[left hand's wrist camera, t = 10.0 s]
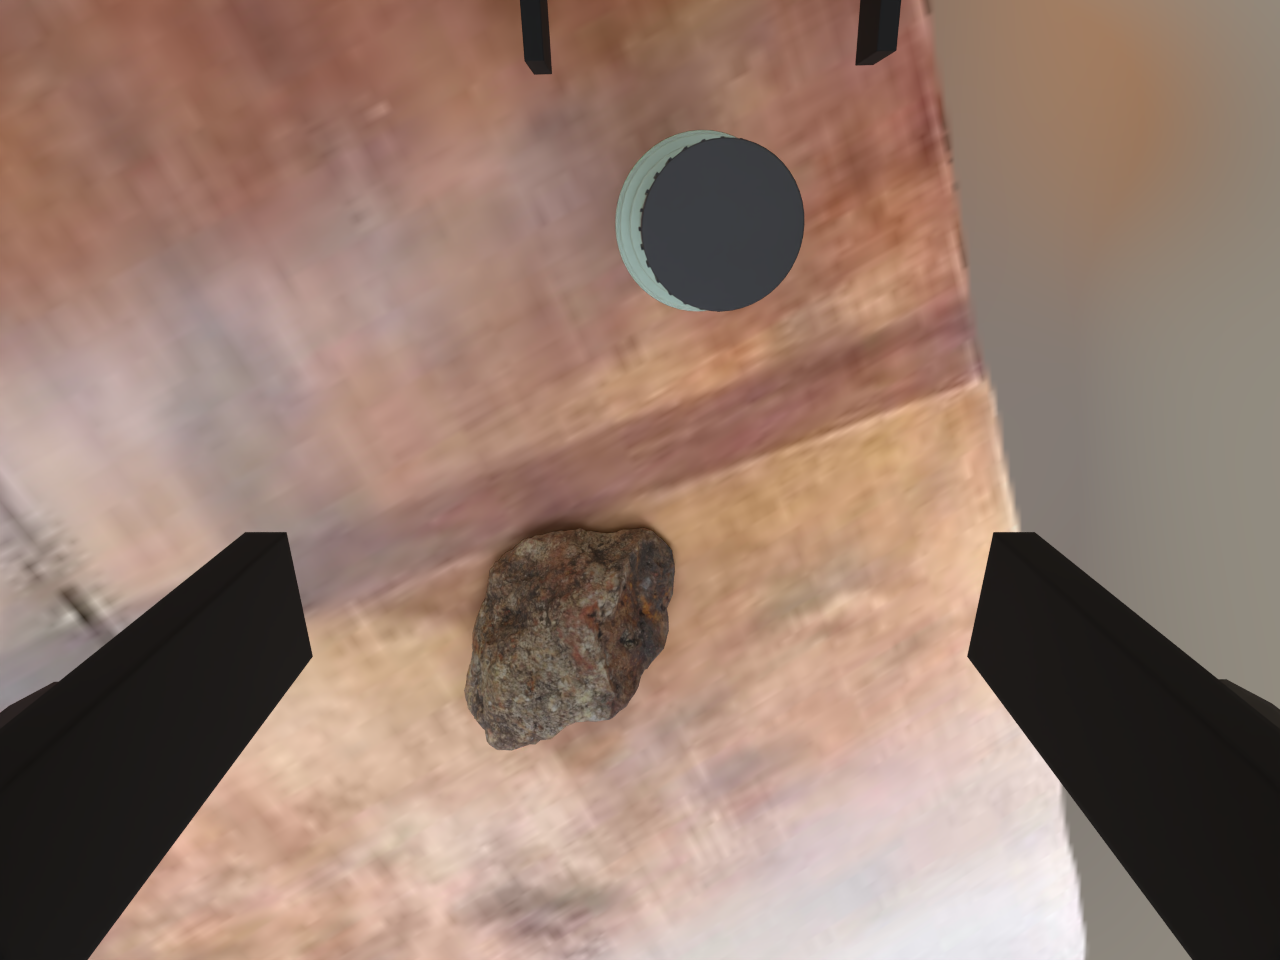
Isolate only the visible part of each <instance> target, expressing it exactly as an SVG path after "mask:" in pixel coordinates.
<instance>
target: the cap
mask: <svg viewBox="0 0 1280 960" xmlns="http://www.w3.org/2000/svg"><path fill="white" fill-rule="evenodd" d="M653 179H655V180H654V182H653V184H652V185H651V187H650V189H649V190H648V189H647V190H646V192H645V195H647V196H646V198H645V201H644V205H643V208H641V209H640V212H642V214H641V227H638V230H639V231H641V240H642V244H640V246H641V250H644V252H645V255H646V258H647V260H646V264H647V267H648V268H649V267H650V268H651V270H652V272H653V273H654V276H655V279H656V281H657V283H659V282H660V283H661V284H662V286H663V287H664V288H665V289H666V290H667V291H668V294H669V295H670V296H671V295H673V296H674V297H676V298H677V299H679V300H680V301H682V302H683V304H685V305H686V304H688V305H690V306H692V307H696V308H699V309H700V310H708V311H717V312H720V311H731V310H736V309H740V308H743V307H746V306H749V305H751V304H753V303H755V302H757V301H759V300H761V299H762V298H764V297H765V296H767V295H768V294H769V293H771V292H772V291H773V290H774V289H775V288H776V287H777V286H778V285H779V284H780V283H781V282H782V281H783V279H784V278H785V277H786V276H787V274H788V273H789V271H790V270H791V268H792V266H793V264H794V262H795V260H796V258H797V256H798V253H799V250H800V247H801V243H802V239H803V232H804V209H803V202H802V198H801V194H800V191H799V189H798V186H797V184H796V181H795V179H794V178H793V176H792V174H791V173H790V171H789V170H788V168H787V167H786V166H785V165H784V163H783V162H782V161H781V160H780V159H779V158H778V157H777V156H776V155H774V154H773V153H772V152H770V151H769V150H767V149H766V148H764V147H762V146H761V145H759V144H757V143H754V142H751V141H748V140H745V139H742V138H740V139H739V138H730V137H724V136H721V137H720V138H713V139H709V140H706V139H702V140H701V141H700V142H699V143H696V144H694V145H692V146H690V147H687V146H686V147H684V148H683V150H682V151H681V152H680V153H679V154H677V155H676V156H675V157H674V158H671V157H670V158H669V159H668V160H667V162H666V164H665V166H664V168H663V169H662V170H661V172H660V173H658V172H657V173H656V174H655V176H654V178H653Z"/></svg>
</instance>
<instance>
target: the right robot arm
mask: <svg viewBox="0 0 1280 960" xmlns="http://www.w3.org/2000/svg"><path fill="white" fill-rule="evenodd" d="M520 6H521V20H522V33H523V46H524V59H525V62H526V64H527V65H528V66H529V68H530V69H531V71H532V72H533V73H534V75H535V74H552V67H551V52H550V36H549V21H548V5H547V0H520ZM900 6H901V0H861V1H860V13H859V26H858V39H857V52H856V64H855V65H874V64H875V63H877V62H879V61H880V60H882V59H883V58H885V57H887V56H888V55H890V54H891V53H893V52H895V51H896V48H897V37H898V27H899V17H900Z"/></svg>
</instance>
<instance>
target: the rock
mask: <svg viewBox="0 0 1280 960" xmlns="http://www.w3.org/2000/svg"><path fill="white" fill-rule="evenodd" d="M674 573H675V566H674V560H673V555H672V550H671V549H670V547H669V546H668V545H667V544H666V543H665V542H664V541H663V540H662V539H661V538H660V537H658V536H657V535H656V534H655V533H654V532H653V531H651V530H649V529H646V528H639V529H623V530H619V531H618V532H615V533H599V532H594V531H585V530H584V529H582V528H579V529H576V530H567V531H558V532H550V533H547V534H543V535H536V536H534V537H532V538H527V539H524V540H522V541H521V542H520V543H519V544H518V545H516V546H515V548H514V549H512V550H510V551H508V552H506V553H505V554H504V555H502V557H501V558H500V560H499V561H497V562H495V564H494V566H493V567H492V568H491V569H490V572H489V579H488V587H487V592H486V597H485V600H484V602H483V603H482V606H481V609H480V612H479V614H478V616H477V619H476V623H475V626H474V630H473V643H472V648H473V652H472V659H471V663H470V667H469V670H468V673H467V680H466V686H465V690H464V691H465V698H466V701H467V704H468V709H469V710H470V712H471V713H472V715H473V716H474V718H475V719H476V720H477V722H478V723H479V724H480V725H481V727H482V728H483V729H484V730H485V734H486V739H487V742H488V743H489V745H491V746H492V747H494V748H495V749H497V750H514V749H517V748H520V747H523V746H526V745H529V744H536V743H537V742H539V741H540V740H546V739H551V738H553V737H554V736H555V735H556V734H557V733H559V732H560V731H561V730H562V729H564V728H565V727H566V726H568V725H570V724H573V723H575V722H584V721H595V722H596V721H602V720H609V719H611V718H613V717H614V716H615V715H616V714H617V713H618V712H619V711H620V710H622V709H623V708H625V707H626V706H627V704H628V703H629V701H630V699H631V698H632V697H633V695H634V694H635V693H636V690H637V688H638V686H639V682H640V678H641V675H642V674H643V672H644V670H645V669H647V668H648V667H649V665H650V664H651V662H652V661H653V660H654V659H655V658H656V657H657V656H658V655H659V654H660V652H661V651H662V650H663V649H664V646H665V643H666V638H667V634H668V631H669V627H668V623H669V622H668V613H667V607H668V604H669V602H670V599H671V597H672V595H673V582H674Z"/></svg>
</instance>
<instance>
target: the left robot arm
mask: <svg viewBox="0 0 1280 960" xmlns="http://www.w3.org/2000/svg"><path fill="white" fill-rule="evenodd" d="M312 657H313V656H312V651H311V646H310V641H309V637H308V632H307V627H306V622H305V618H304V613H303V608H302V604H301V599H300V594H299V589H298V585H297V580H296V575H295V570H294V566H293V561H292V556H291V551H290V547H289V542H288V537H287V532H245V533H244V534H242V535H241V536H240V537H239V538H238V539H236V540H235V541H234V542H233V543H231V544H230V545H229V546H228V547H226V548H225V549H224V550H223V551H221V552H220V553H219V554H218V555H216V556H215V557H214V558H213V559H211V560H210V561H209V562H208V563H206V564H205V565H204V566H203V567H201V568H200V569H199V570H198V571H196V572H195V573H194V574H193V575H191V576H190V577H189V578H188V579H186V580H185V581H184V582H183V583H181V584H180V585H179V586H178V587H176V588H175V589H174V590H173V591H171V592H170V593H169V594H168V595H166V596H165V597H164V598H163V599H161V600H160V601H159V602H158V603H156V604H155V605H154V606H153V607H151V608H150V609H149V610H148V611H146V612H145V613H144V614H143V615H141V616H140V617H139V618H138V619H137V620H135V621H134V622H133V623H132V624H130V625H129V626H128V627H127V628H125V629H124V630H123V631H122V632H120V633H119V634H118V635H117V636H115V637H114V638H113V639H112V640H110V641H109V642H108V643H107V644H105V645H104V646H103V647H102V648H100V649H99V650H98V651H97V652H95V653H94V654H93V655H92V656H90V657H89V658H88V659H87V660H85V661H84V662H83V663H82V664H80V665H79V666H78V667H77V668H75V669H74V670H73V671H72V672H70V673H69V674H68V675H67V676H65V677H64V678H63V679H62V680H60V681H59V682H53V683H51V684H49V685H48V686H46V687H44V688H42V689H40V690H38V691H36V692H34V693H33V694H31V695H29V696H27V697H25V698H23V699H21V700H19V701H18V702H16V703H14V704H12V705H10V706H8V707H7V708H6V709H4V710H3V711H2V712H1V713H0V960H88V958H89V957H90V956H91V954H92V953H93V952H94V950H95V949H96V948H97V946H98V945H99V944H100V942H101V941H102V940H103V938H104V937H105V935H106V934H107V933H108V931H109V930H110V929H111V927H112V926H113V925H114V923H115V922H116V921H117V919H118V918H119V917H120V915H121V914H122V913H123V911H124V910H125V909H126V907H127V906H128V905H129V903H130V902H131V900H132V899H133V898H134V896H135V895H136V894H137V892H138V891H139V890H140V888H141V887H142V886H143V884H144V883H145V882H146V880H147V879H148V878H149V876H150V875H151V874H152V872H153V871H154V870H155V868H156V867H157V865H158V864H159V863H160V861H161V860H162V859H163V857H164V856H165V855H166V853H167V852H168V851H169V849H170V848H171V847H172V845H173V844H174V843H175V841H176V840H177V839H178V837H179V836H180V834H181V833H182V832H183V830H184V829H185V828H186V826H187V825H188V824H189V822H190V821H191V820H192V818H193V817H194V816H195V814H196V813H197V812H198V810H199V809H200V808H201V806H202V805H203V804H204V802H205V801H206V799H207V798H208V797H209V795H210V794H211V793H212V791H213V790H214V789H215V787H216V786H217V785H218V783H219V782H220V781H221V779H222V778H223V777H224V775H225V774H226V773H227V771H228V770H229V769H230V767H231V766H232V764H233V763H234V762H235V760H236V759H237V758H238V756H239V755H240V754H241V752H242V751H243V750H244V748H245V747H246V746H247V744H248V743H249V742H250V740H251V739H252V738H253V736H254V735H255V734H256V732H257V731H258V729H259V728H260V727H261V725H262V724H263V723H264V721H265V720H266V719H267V717H268V716H269V715H270V713H271V712H272V711H273V709H274V708H275V707H276V705H277V704H278V703H279V701H280V700H281V698H282V697H283V696H284V694H285V693H286V692H287V690H288V689H289V688H290V686H291V685H292V684H293V682H294V681H295V680H296V678H297V677H298V676H299V674H300V673H301V672H302V670H303V669H304V668H305V666H306V665H307V663H308V662H309V661H310V659H311V658H312ZM967 657H968V658H969V659H970V661H971V662H972V663H973V665H974V666H975V668H976V669H977V670H978V672H979V673H980V674H981V676H982V677H983V678H984V680H985V681H986V682H987V684H988V685H989V686H990V688H991V689H992V690H993V692H994V693H995V694H996V696H997V697H998V698H999V700H1000V701H1001V703H1002V704H1003V705H1004V707H1005V708H1006V709H1007V711H1008V712H1009V713H1010V715H1011V716H1012V717H1013V719H1014V720H1015V721H1016V723H1017V724H1018V725H1019V727H1020V728H1021V729H1022V731H1023V732H1024V734H1025V735H1026V736H1027V738H1028V739H1029V740H1030V742H1031V743H1032V744H1033V746H1034V747H1035V748H1036V750H1037V751H1038V752H1039V754H1040V755H1041V756H1042V758H1043V759H1044V760H1045V762H1046V763H1047V764H1048V766H1049V767H1050V769H1051V770H1052V771H1053V773H1054V774H1055V775H1056V777H1057V778H1058V779H1059V781H1060V782H1061V783H1062V785H1063V786H1064V787H1065V789H1066V790H1067V791H1068V793H1069V794H1070V795H1071V797H1072V798H1073V799H1074V801H1075V802H1076V804H1077V805H1078V806H1079V808H1080V809H1081V810H1082V812H1083V813H1084V814H1085V816H1086V817H1087V818H1088V820H1089V821H1090V822H1091V824H1092V825H1093V826H1094V828H1095V829H1096V830H1097V832H1098V833H1099V834H1100V836H1101V837H1102V839H1103V840H1104V841H1105V843H1106V844H1107V845H1108V847H1109V848H1110V849H1111V851H1112V852H1113V853H1114V855H1115V856H1116V857H1117V859H1118V860H1119V861H1120V863H1121V864H1122V865H1123V867H1124V868H1125V870H1126V871H1127V872H1128V874H1129V875H1130V876H1131V878H1132V879H1133V880H1134V882H1135V883H1136V884H1137V886H1138V887H1139V888H1140V890H1141V891H1142V892H1143V894H1144V895H1145V896H1146V898H1147V899H1148V900H1149V902H1150V903H1151V905H1152V906H1153V907H1154V909H1155V910H1156V911H1157V913H1158V914H1159V915H1160V917H1161V918H1162V919H1163V921H1164V922H1165V923H1166V925H1167V926H1168V927H1169V929H1170V930H1171V931H1172V933H1173V934H1174V935H1175V937H1176V938H1177V940H1178V941H1179V942H1180V944H1181V945H1182V946H1183V948H1184V949H1185V950H1186V952H1187V953H1188V954H1189V956H1190V957H1191V958H1192V960H1280V709H1278V708H1277V707H1276V706H1275V705H1273V704H1272V703H1270V702H1268V701H1266V700H1264V699H1262V698H1261V697H1259V696H1257V695H1255V694H1253V693H1251V692H1249V691H1247V690H1245V689H1243V688H1242V687H1240V686H1238V685H1236V684H1234V683H1232V682H1230V681H1228V680H1227V679H1217V678H1216V677H1215V676H1213V675H1212V674H1211V673H1210V672H1208V671H1207V670H1206V669H1205V668H1203V667H1202V666H1201V665H1200V664H1198V663H1197V662H1196V661H1195V660H1193V659H1192V658H1191V657H1190V656H1188V655H1187V654H1186V653H1185V652H1183V651H1182V650H1181V649H1180V648H1178V647H1177V646H1176V645H1175V644H1173V643H1172V642H1171V641H1170V640H1168V639H1167V638H1166V637H1165V636H1163V635H1162V634H1161V633H1160V632H1158V631H1157V630H1156V629H1155V628H1153V627H1152V626H1151V625H1150V624H1148V623H1147V622H1146V621H1145V620H1143V619H1142V618H1141V617H1140V616H1139V615H1137V614H1136V613H1135V612H1133V611H1132V610H1131V609H1130V608H1129V607H1127V606H1126V605H1125V604H1124V603H1122V602H1121V601H1120V600H1118V599H1117V598H1116V597H1115V596H1114V595H1112V594H1111V593H1110V592H1109V591H1107V590H1106V589H1105V588H1104V587H1102V586H1101V585H1100V584H1099V583H1097V582H1096V581H1095V580H1094V579H1092V578H1091V577H1090V576H1089V575H1087V574H1086V573H1085V572H1084V571H1082V570H1081V569H1080V568H1079V567H1077V566H1076V565H1075V564H1074V563H1072V562H1071V561H1070V560H1069V559H1067V558H1066V557H1065V556H1064V555H1062V554H1061V553H1060V552H1059V551H1057V550H1056V549H1055V548H1054V547H1052V546H1051V545H1050V544H1049V543H1047V542H1046V541H1045V540H1044V539H1042V538H1041V537H1040V536H1039V535H1037V534H1036V533H1035V532H993V537H992V542H991V547H990V551H989V556H988V561H987V566H986V570H985V575H984V580H983V585H982V589H981V594H980V599H979V604H978V608H977V613H976V618H975V622H974V627H973V632H972V637H971V641H970V646H969V651H968V656H967Z"/></svg>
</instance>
